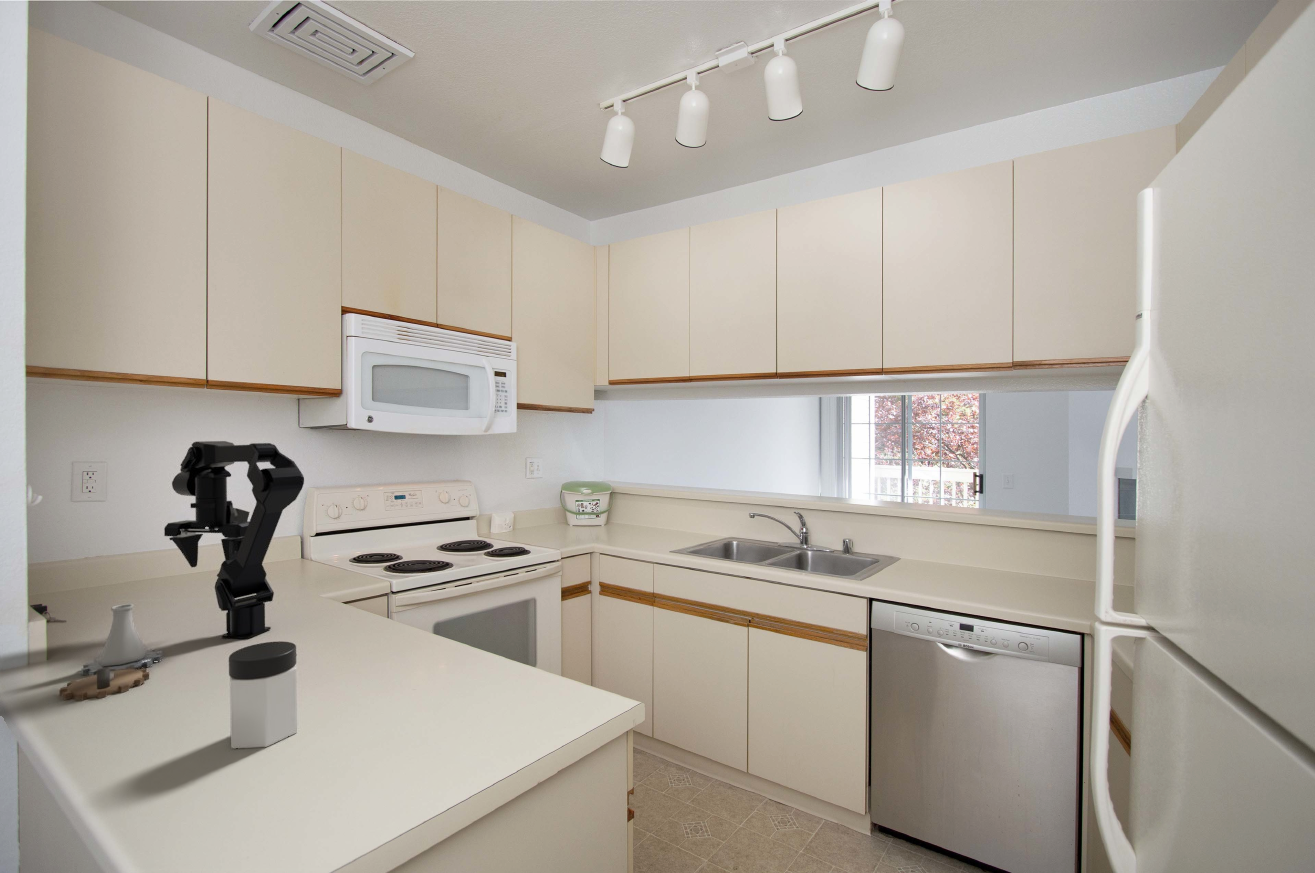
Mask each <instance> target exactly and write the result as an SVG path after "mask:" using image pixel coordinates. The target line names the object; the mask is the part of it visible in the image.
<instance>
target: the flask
mask: <svg viewBox="0 0 1315 873" xmlns="http://www.w3.org/2000/svg"><path fill="white" fill-rule="evenodd" d="M134 607H135V605H134V603H124V604H117V605H114V606H112V607H111V608H110V610H111V611H112V621H111V622H112V623H111V628H110V631H109V633H108V636H107V639H106V641H105V644H104V646H103V648H102V650H101V653H100V655H99V657H98V658H99V659H98V662H97V663H98V664H99V665H100V666H110V665H120V664H125V663H129V662H133V661H137V660H141V659H142V658H144V657H145V656H147V655H148V652H147V650H148V649H147V648H146V647H145V644H144V643H143V641H142V639H141V637H140V635H139V633H138V629H137V628H136V626H135V624H134V619H133V611H132V610H133V609H134Z"/></svg>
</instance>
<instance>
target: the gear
mask: <svg viewBox="0 0 1315 873" xmlns="http://www.w3.org/2000/svg"><path fill="white" fill-rule="evenodd" d="M146 650H147V652H148V655H147V656H145V657H144V658H142V659H141V660H137V661H133V662H129V663H125V664H120V665H110V666H100V665H99V664H98V663H97V662H98V659H99V657H98V658H97V657H96V658H95V659H93V661H92V662H87V663H85V664H83V665H82V666H83V667H82V668H81V675H82V676H87V675H88V677H89V676H93V675H97V670H98V669H101V668H106V667H109V668H110V671H111V670H114V671H117V670H124V669H126V668H133V669H134V670H136V669H137V670H139V669H138V668H141V669H142V667H148V668H150V667H149V666H151V665H152V666H153V663H152V662H154V661H160V660H161V659H163V651H161V650H158V651H156V650H155V649H153V648H150V649H146ZM161 661H162V660H161ZM161 661H160V662H161ZM152 666H151V667H152Z"/></svg>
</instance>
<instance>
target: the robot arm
mask: <svg viewBox="0 0 1315 873" xmlns="http://www.w3.org/2000/svg"><path fill="white" fill-rule="evenodd" d="M236 462H237V463H239V462H240V463H244V462H245V463H246V462H247V464H248V468H247V473H246V476H247V477H246V478H247V479H248V480H249V482H250V485H251V486H252V488H251V492H252V495H253V497H254V499H255V501H256V502H255V507H254V508H253V511H252V514H251V517H250V519H249V516H250V511H247V510H244V509H241V508H238V507H237V508H236V507H234V505H233V504H234V503H233V502H232V500H228V485H227V484H228V482H227V480H228V478H231V477H232V474H231V472H230V471H228V470H227V469H226V467H228V466H231V465H233V464H234V463H236ZM295 462H296V461H294V460H292V459H291V458H289V457H288V456H286V455H285V454H283V453H282V452H281V451H280V450H279V449H278V447H277V445H275V444H274V443H270V442H265V443H264V442H258V443H256V442H254V443H253V442H251V443H249V444H237V445H236V444H235V443H233V442H230V441H227V440H211V441H209V440H208V441H207V440H205V441H202V440H201V441H193V442H192V443H191V446H190V447H189V448H188V449H187V451H186V455H185V456H184V458H183V460H182V462H181V463H180V472H178V473H177V474H176V475H175V476H174V478H173V480H172V481H171V486H172V489H173V492H175V493H176V494H178V495H181V496H189V497H195V502H191V503H190V509H195V520H189V519H185V520H180V521H173V522H167V524H166V525H165V526H164V528H163V529H164V537H169V541H172V543H174V544H175V546H176V547H177V548H178V550H179V551H180V552H181V554H182V555H183V556H184V558H185V559H186V561H187V563H188V565H189V566H190V567H191V568H196V567H197V566H198V560H199V557H198V556H199V541H200V540H201V538H202V537H203V535H204V534H210V533H211V534H221V535H222V536H223V537H224V538H221V539H220V542H221V547H222V549H223V551H222V552H223V555H224V560H223V561H222V563H221V565H220V568H219V569H220V570H219V572H218V573H217V574H216V577H217V579H216V581H215V584H214V592H215V596H216V600H217V604H218V609H220V611H221V612H225V611H226V614H225V618H226V628H225V629H226V632H225V633H223V634H221V638H223V639H225V638H227V639H229V638H231V639H251V638H252V637H255V636H258V635H260V634H263V633H265V632H267V631H270V630H272V626H266V603H268V602H270V603H271V602H273V599H274V594H275V592H274V590H273V589H272V586H271V585H270V583H269V582H268V579H267V571H266V570H265V568H264V565H263V562H264V560H265V558H266V555H267V552H268V550H269V547H270V545H271V542H272V539H273V537H274V534H275V532H276V529H277V526H278V524H279V521H280V519H281V516H282V515H283V514H282V513H283V511H284V510H285V509H286V508H287V507H288V506H290V505H291V504H292V503H294V502H295V501H296V500H297V498H298V497H299V495H300V493H301V491H302V490H303V487H304V484H305V478H304V477H305V476H304V474H303V473H302V471H301V470H300V468H299V466H297V463H295ZM258 463H269V464H270V466H273V467H272V468H271V467H269V468H268V467H267V468H262V469H261V468H260V467H259V465H258ZM248 520H249V521H248Z"/></svg>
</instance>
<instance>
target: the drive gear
mask: <svg viewBox="0 0 1315 873" xmlns="http://www.w3.org/2000/svg"><path fill="white" fill-rule="evenodd" d="M144 679H147V680H150V671H147V668H141V669H137V670H134V669H133V668H126V669H124V670H117V671H114V670H111V671H110V668H109V667H106V668H101V669H98V670H97V675H93V676H89V675H88V676H87V677H84V678H81V679H79V680H71V681H68V682H67V684H66V686H63V687H60V688H59V696H60V697H61V699H62V700H64V701H67V700H69V699H75V702H79V701H80V702H81V701H83V702H84V701H85V700H86V699H91V698H92V699H93V698H97V699H102V698H106V697H107V696H110V695H114V694H116V693H121V694H122V693H126V692H129V691H130V689H131V688H134V687H136V686H135V685H141V684H142V683H144V684H145V680H144ZM142 685H143V684H142ZM142 685H141V686H142ZM133 686H134V687H133Z"/></svg>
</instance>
